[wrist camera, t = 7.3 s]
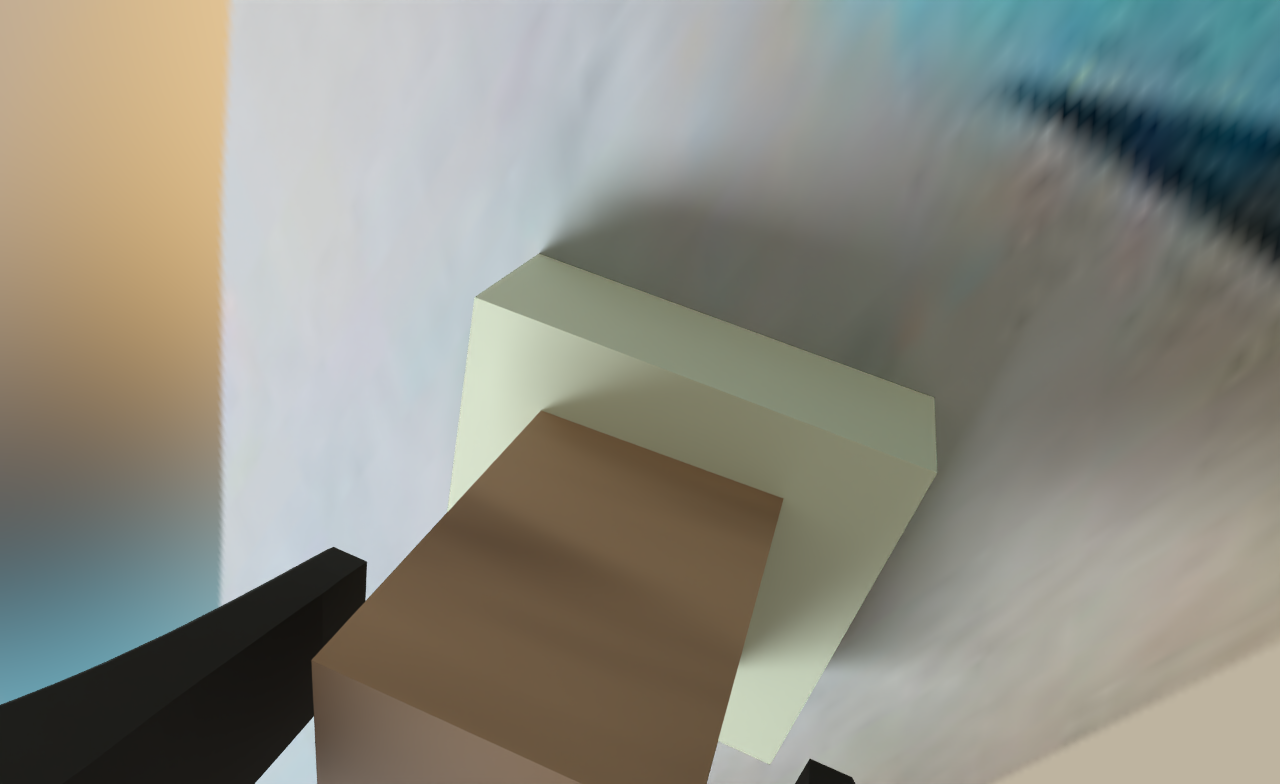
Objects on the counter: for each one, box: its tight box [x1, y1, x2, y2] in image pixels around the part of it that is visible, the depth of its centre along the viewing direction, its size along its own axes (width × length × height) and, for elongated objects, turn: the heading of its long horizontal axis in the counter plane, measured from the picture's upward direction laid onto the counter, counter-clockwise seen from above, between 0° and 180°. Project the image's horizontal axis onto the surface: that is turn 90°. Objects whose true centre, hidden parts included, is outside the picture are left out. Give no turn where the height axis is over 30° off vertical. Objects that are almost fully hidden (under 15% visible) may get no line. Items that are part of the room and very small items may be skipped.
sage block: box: [447, 254, 937, 765], centre depth 15 cm, size 8×8×3 cm
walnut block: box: [311, 411, 783, 784], centre depth 12 cm, size 4×4×6 cm
